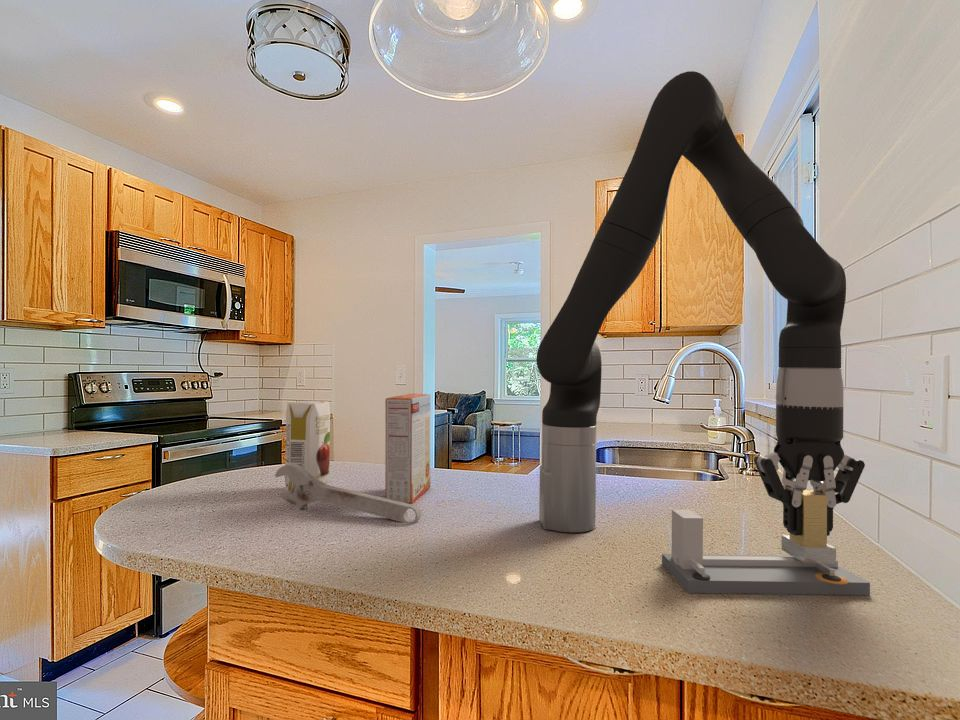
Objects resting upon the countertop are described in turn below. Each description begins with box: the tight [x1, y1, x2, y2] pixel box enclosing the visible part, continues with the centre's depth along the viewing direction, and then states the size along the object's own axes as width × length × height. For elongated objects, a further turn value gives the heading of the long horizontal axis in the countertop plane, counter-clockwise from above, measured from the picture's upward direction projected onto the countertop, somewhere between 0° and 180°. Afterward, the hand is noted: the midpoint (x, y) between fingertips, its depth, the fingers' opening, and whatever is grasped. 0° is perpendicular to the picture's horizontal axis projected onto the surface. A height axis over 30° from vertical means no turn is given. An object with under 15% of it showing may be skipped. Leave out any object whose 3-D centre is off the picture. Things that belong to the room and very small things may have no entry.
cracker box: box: [384, 393, 431, 505], centre depth 108 cm, size 14×6×21 cm, turn 170°
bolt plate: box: [661, 509, 871, 596], centre depth 67 cm, size 22×10×8 cm, turn 90°
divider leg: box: [781, 489, 837, 576], centre depth 67 cm, size 4×7×9 cm, turn 0°
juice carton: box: [284, 400, 331, 492], centre depth 111 cm, size 8×9×19 cm
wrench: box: [274, 464, 422, 524], centre depth 94 cm, size 8×2×30 cm
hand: (808, 533), depth 68 cm, fingers closed on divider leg, 3 cm apart
